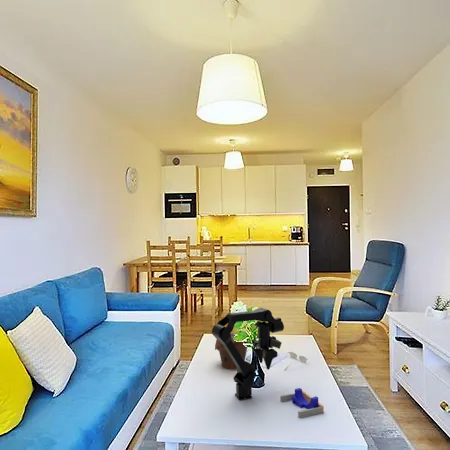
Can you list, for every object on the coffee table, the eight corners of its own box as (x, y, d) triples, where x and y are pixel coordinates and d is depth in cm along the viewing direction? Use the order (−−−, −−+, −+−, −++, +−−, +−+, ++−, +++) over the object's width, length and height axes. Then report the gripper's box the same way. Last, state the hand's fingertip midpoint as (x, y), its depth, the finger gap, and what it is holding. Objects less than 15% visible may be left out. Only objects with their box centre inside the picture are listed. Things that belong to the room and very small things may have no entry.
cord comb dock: (299, 417, 170) (299, 410, 170) (280, 400, 186) (280, 394, 186) (323, 412, 174) (323, 405, 174) (302, 396, 190) (302, 390, 190)
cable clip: (292, 403, 184) (292, 390, 184) (299, 400, 187) (299, 387, 186) (310, 413, 174) (310, 400, 174) (318, 411, 176) (318, 397, 176)
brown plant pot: (217, 358, 242) (216, 329, 242) (250, 359, 240) (250, 330, 240) (213, 370, 225) (212, 338, 224) (249, 371, 223) (248, 339, 222)
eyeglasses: (308, 364, 232) (308, 357, 232) (285, 372, 222) (285, 364, 222) (289, 357, 245) (289, 350, 245) (266, 364, 235) (266, 357, 234)
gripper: (287, 338, 191) (287, 370, 191) (271, 327, 209) (272, 357, 209) (265, 340, 187) (266, 373, 188) (251, 329, 205) (252, 360, 206)
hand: (264, 366), depth 198 cm, fingers open, 9 cm apart
